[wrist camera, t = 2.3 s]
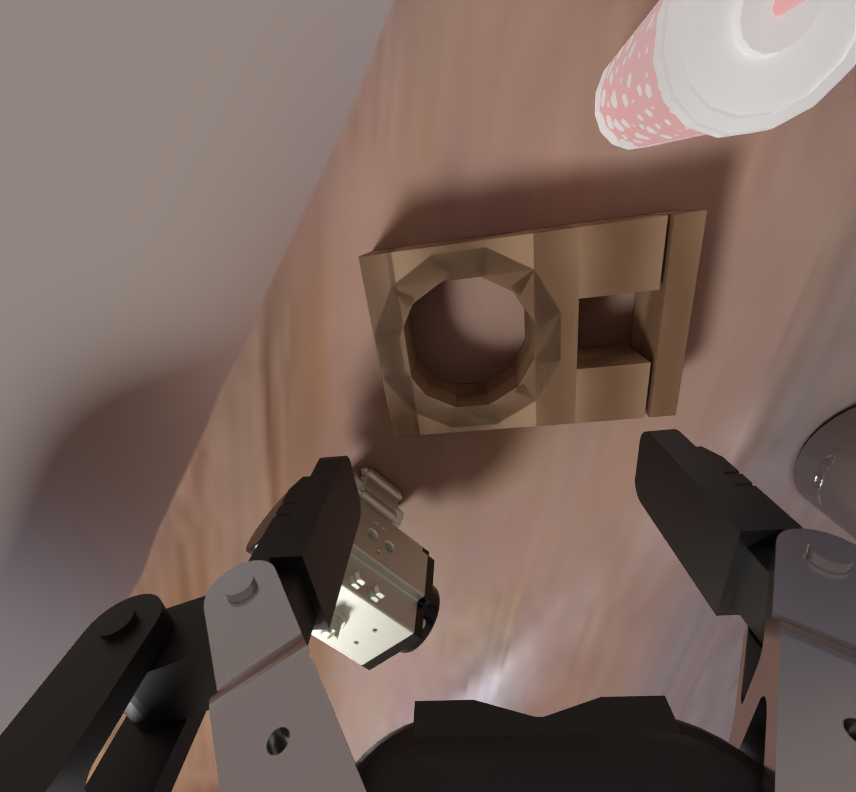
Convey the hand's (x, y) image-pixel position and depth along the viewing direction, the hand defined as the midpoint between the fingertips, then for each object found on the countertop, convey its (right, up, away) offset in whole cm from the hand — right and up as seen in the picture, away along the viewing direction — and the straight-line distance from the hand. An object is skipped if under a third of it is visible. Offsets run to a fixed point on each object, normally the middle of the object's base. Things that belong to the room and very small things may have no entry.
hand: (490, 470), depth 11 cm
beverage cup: (+9, +17, +9) cm, 21 cm away
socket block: (+4, +7, +14) cm, 16 cm away
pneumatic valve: (-6, -5, +20) cm, 22 cm away
